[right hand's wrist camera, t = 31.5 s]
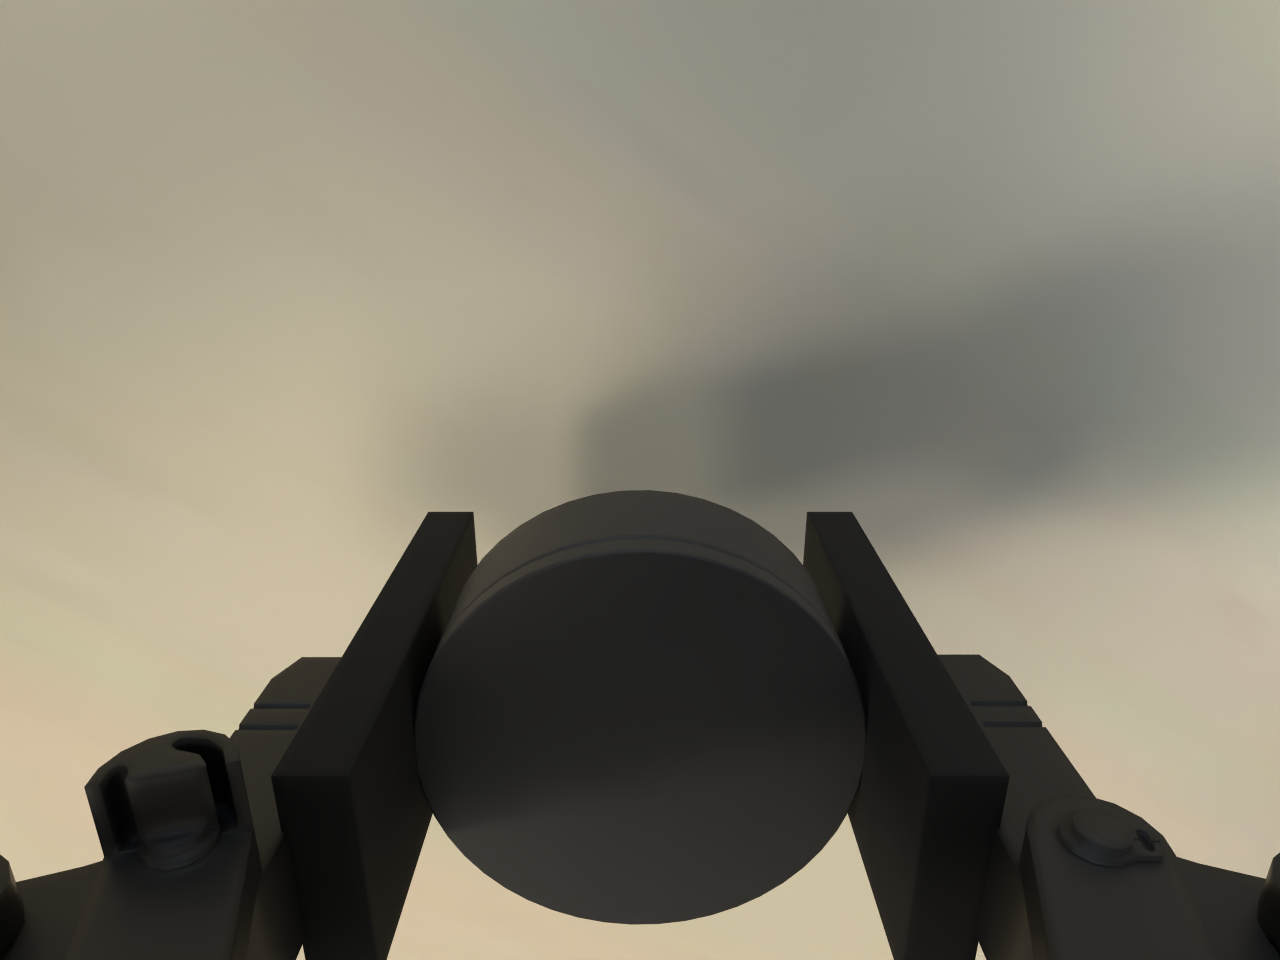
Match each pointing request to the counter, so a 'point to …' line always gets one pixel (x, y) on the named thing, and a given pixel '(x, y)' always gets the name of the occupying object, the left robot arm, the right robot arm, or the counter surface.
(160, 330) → the counter surface
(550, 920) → the counter surface
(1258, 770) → the counter surface
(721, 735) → the lid
